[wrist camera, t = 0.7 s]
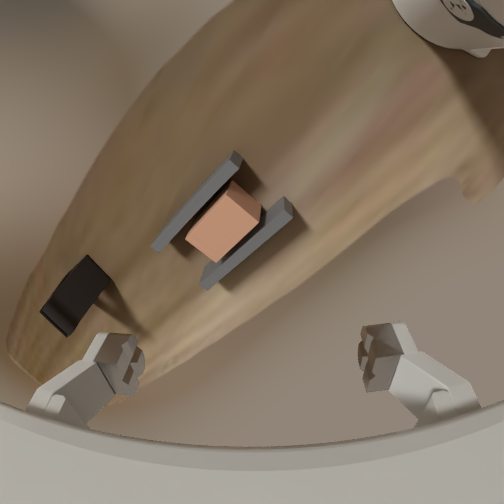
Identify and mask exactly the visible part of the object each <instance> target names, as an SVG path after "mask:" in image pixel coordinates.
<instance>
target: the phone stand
mask: <svg viewBox="0 0 504 504" xmlns="http://www.w3.org/2000/svg"><path fill="white" fill-rule="evenodd" d="M110 281H111V279H110V278H109V277H108V276H107V275H106V274H105V273H104V272H103V271H102V270H101V269H100V268H99V267H98V266H97V265H96V264H95V263H94V261H93V260H92V259H91V258H90V257H89V256H88V255H86V256H85V257H84V258H83V259H82V260H81V261H80V262H79V263H78V264H77V265H76V266H75V267H74V268H73V269H72V270H71V271H70V272H69V273H68V274H67V275H66V276H65V277H64V278H63V279H62V281H61V282H60V283H59V285H58V286H57V288H56V289H55V291H54V292H53V293H52V295H51V296H50V298H49V299H48V301H47V302H46V303H45V305H44V306H43V307H42V309H41V310H40V313H41V314H42V315H43V316H44V317H45V318H46V319H47V320H48V321H49V322H50V323H51V324H52V325H53V326H55V327H56V328H57V329H58V330H59V331H60V332H61V333H62V334H63V335H64V336H65V337H68V335H69V336H70V335H71V334H72V333H73V331H74V330H75V329H76V327H77V325H78V323H79V322H80V320H81V319H82V318H83V316H84V315H85V313H86V312H87V311H88V309H89V308H90V307H91V305H92V304H93V303H94V301H95V300H96V299H97V297H98V296H99V295H100V293H101V292H102V291H103V290H104V288H105V287H106V286H107V284H108V283H109V282H110Z"/></svg>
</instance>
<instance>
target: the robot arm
mask: <svg viewBox="0 0 504 504" xmlns="http://www.w3.org/2000/svg"><path fill="white" fill-rule="evenodd" d="M392 1H393V4H394V5H395V7H396V9H397V11H398V12H399V14H400V15H401V17H402V18H403V19H404V20H405V22H406V23H407V24H408V25H409V26H410V27H411V28H412V29H413V30H414V31H415V32H417V33H418V34H419V35H420V36H422V37H423V38H425V39H426V40H428V41H430V42H432V43H434V44H436V45H439V46H442V47H445V48H452V49H462V50H465V51H466V52H468V53H470V54H471V55H473V56H475V57H478V58H483V57H486V56H487V55H488V53H489V52H490V51H491V49H499V48H504V0H392ZM361 337H362V341H361V342H360V343H359V346H358V362H359V366H360V369H361V370H362V371H364V374H363V382H364V385H365V389H366V392H374V391H382V390H389V391H390V392H391V393H392V394H393V395H394V396H395V397H396V398H397V399H398V400H399V401H400V402H401V403H402V404H403V405H404V406H405V407H406V408H407V409H408V410H409V411H410V412H412V414H413V415H415V416H416V417H417V418H418V419H419V420H418V421H417V423H416V425H415V426H414V428H412V429H407V430H402V431H398V432H393V433H388V434H383V435H378V436H372V437H366V438H359V439H352V440H345V441H337V442H328V443H318V444H307V445H292V446H271V447H270V446H267V447H231V446H230V447H229V446H207V445H206V446H205V445H192V444H180V443H170V442H161V441H154V440H147V439H140V438H133V437H127V436H122V435H116V434H111V433H106V432H101V431H96V430H92V429H90V428H89V427H88V426H87V424H86V423H87V422H88V421H89V420H90V419H92V418H93V417H94V416H95V414H96V413H98V412H99V411H100V410H101V409H102V408H103V407H104V406H105V405H106V404H107V403H108V402H109V401H110V400H111V399H112V398H113V397H114V396H115V394H118V395H128V396H135V394H136V391H137V388H138V385H139V381H138V377H139V376H141V375H142V374H143V371H144V368H145V358H144V354H143V351H142V350H141V349H140V348H138V347H137V344H138V340H137V338H136V336H135V335H133V334H121V333H104V332H100V333H98V334H97V335H96V337H95V338H94V340H93V342H92V344H91V345H90V347H89V349H88V351H87V352H86V354H85V356H84V358H83V360H82V361H80V360H79V361H77V362H76V363H74V364H73V365H71V366H70V367H68V368H67V369H65V370H64V371H63V372H61V373H60V374H58V375H57V376H55V377H54V378H52V379H51V380H49V381H48V382H46V383H45V384H43V385H42V386H40V387H39V388H37V390H36V392H35V394H34V395H33V397H32V399H31V401H30V403H29V405H28V406H27V408H26V410H22V409H19V408H16V407H13V406H11V405H8V404H6V403H3V402H0V504H504V400H502V401H499V402H497V403H494V404H492V405H489V406H486V407H483V408H481V406H480V404H479V402H478V399H477V397H476V395H475V393H474V391H473V389H472V387H471V385H470V383H469V382H468V381H466V380H465V379H463V378H462V377H460V376H459V375H457V374H456V373H454V372H453V371H451V370H450V369H448V368H447V367H445V366H444V365H442V364H441V363H439V362H438V361H436V360H434V359H433V358H431V357H430V356H428V355H427V354H425V353H424V352H418V350H417V347H416V345H415V343H414V341H413V339H412V337H411V335H410V333H409V331H408V329H407V327H406V325H405V323H404V322H403V321H398V322H392V323H385V324H377V325H369V326H363V327H362V330H361Z"/></svg>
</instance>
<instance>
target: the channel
mask: <svg viewBox="0 0 504 504" xmlns="http://www.w3.org/2000/svg"><path fill="white" fill-rule="evenodd" d="M242 160H243V158H242V157H241V156H240V155H239V154H238V153H236V152H235V151H233V152H232V153H231V154H230V155H229V156H228V157H227V158H226V159H225V160H224V161H223V162H222V163H221V164H220V166H219V167H218V168H217V169H216V170H215V171H214V172H213V173H212V174H211V175H210V176H209V177H208V178H207V179H206V180H205V181H204V183H203V184H202V185H201V186H200V187H199V188H198V189H197V190H196V191H195V192H194V193H193V194H192V196H191V197H190V198H189V199H188V200H187V201H186V202H185V203H184V204H183V206H182V207H181V208H180V209H179V210H178V211H177V212H176V213H175V215H174V216H173V217H172V218H171V219H170V220H169V221H168V223H167V224H166V225H165V226H164V227H163V228H162V230H161V231H160V232H159V234H158V235H157V237H156V238H155V240H154V241H153V243H152V244H151V246H150V247H152V248H153V249H154V250H155V251H157V252H158V253H160V252H161V250H162V249H163V248H164V247H165V246H166V245H167V244H168V243H169V242H170V241H171V239H172V238H173V237H174V236H175V235H176V234H177V233H178V232H179V231H180V230H181V229H182V227H183V226H184V225H185V224H186V223H187V222H188V221H189V220H190V219H191V218H192V217H193V216H194V215H195V214H196V212H197V211H198V210H199V209H200V208H201V207H202V206H203V205H204V204H205V203H206V202H207V201H208V200H209V199H210V198H211V197H212V196H213V195H214V194H215V193H216V192H217V191H218V190H219V188H220V187H221V186H222V185H223V184H224V183H225V182H226V181H227V180H228V179H229V178H230V177H231V176H232V175H233V174H234V173H235V172H236V171H237V170H238V169H239V168H240V165H241V163H242ZM291 219H293V210H292V203H290V202H289V201H288V200H287V199H286V198H285V197H282V198H281V199H280V200H279V201H278V202H277V203H276V204H275V205H273V206H272V207H271V208H270V209H269V210H268V211H267V212H266V213H264V214H263V215H262V216H261V217H260V220H259V223H258V224H257V225H256V226H255V227H254V228H253V229H252V230H251V231H249V232H248V233H247V234H246V235H245V236H244V237H243V238H242V239H241V240H240V241H239V242H238V243H237V244H236V245H235V246H234V247H232V248H231V249H230V250H229V251H228V252H227V253H226V254H225V255H224V256H223V257H222V258H221V259H220V260H219V261H218V262H217V263H216V262H214V261H213V260H212V261H211V262H210V263H209V264H208V265H207V266H206V267H205V268H204V271H203V274H202V277H201V280H200V283H199V285H201V286H202V287H203V288H205V289H206V290H209V289H210V288H211V287H212V286H213V285H215V284H216V283H217V282H218V281H219V280H220V279H222V278H223V277H224V276H225V275H226V274H228V273H229V272H230V271H231V270H232V269H233V268H235V267H236V266H237V265H238V264H239V263H241V262H242V261H243V260H244V259H245V258H246V257H248V256H249V255H250V254H251V253H252V252H254V251H255V250H256V249H257V248H258V247H259V246H261V245H262V244H263V243H264V242H265V241H267V240H268V239H269V238H270V237H271V236H272V235H274V234H275V233H276V232H277V231H278V230H280V229H281V228H282V227H283V226H284V225H285V224H287V223H288V222H289V221H290V220H291Z"/></svg>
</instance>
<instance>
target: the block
mask: <svg viewBox="0 0 504 504" xmlns="http://www.w3.org/2000/svg"><path fill="white" fill-rule="evenodd" d="M260 212H261V204H260V203H258V202H257V201H256V200H255V199H254V198H253V197H251V196H250V195H249V194H248V193H247V192H246V191H244V190H243V189H242V188H241V187H240V186H239V185H237V184H236V183H235V182H234V181H233V180H231V182H230V183H229V184H228V185H227V186H226V187H225V188H224V189H223V190H222V191H221V192H220V193H219V194H218V195H217V196H216V198H215V199H214V200H213V201H212V202H211V203H210V204H209V205H208V206H207V207H206V208H205V209H204V211H203V212H202V213H201V214H200V215H199V216H198V217H197V218H196V219H195V221H194V222H193V224H192V226H191V228H190V230H189V232H188V234H187V236H186V238H185V239H186V240H187V241H188V242H190V243H191V244H192V245H193V246H195V247H196V248H197V249H199V250H200V251H201V252H202V253H204V254H205V255H206V256H208V257H209V258H210V259H212V260H213V261H214V262H216V263H217V262H218V261H219V260H220V259H221V258H222V257H223V256H224V255H225V254H226V253H227V252H228V251H229V250H230V249H231V248H232V247H234V246H235V245H236V244H237V243H238V242H239V241H240V240H241V239H242V238H243V237H244V236H245V235H246V234H247V233H248V232H249V231H251V230H252V229H253V228H254V227H255V226H256V225H257V224H258V223H259V220H260Z"/></svg>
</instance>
